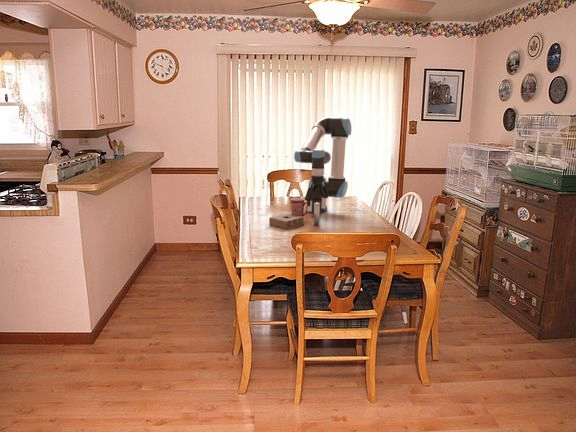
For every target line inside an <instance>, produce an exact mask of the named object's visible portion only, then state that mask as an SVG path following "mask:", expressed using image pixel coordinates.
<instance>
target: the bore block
mask: <svg viewBox="0 0 576 432" xmlns="http://www.w3.org/2000/svg"><path fill="white" fill-rule="evenodd" d="M304 218H305V216H304V217H301V216H296V215H292V213H284V214H279V215H275V216H269V218H268V219H269V221H268V222H269V224H268V225H270V226H269V227H273V226H274V227H275V228H277V229H282V230H290V229H294V228H297V227H301V226H304V224H305V219H304ZM274 227H273V228H274Z"/></svg>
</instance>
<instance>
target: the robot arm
mask: <svg viewBox="0 0 576 432" xmlns="http://www.w3.org/2000/svg"><path fill="white" fill-rule="evenodd" d="M325 135H330V138H331V139H332V151H331V153H330V152H328V151H326V150H324V149H323V148H322V149H320V148H318V149H317V146H318V144H319V143H320V141H321V139H322V138H323V137H324V136H325ZM351 135H352V123H351V120H350V119H349V117H344V116H343V117H342V116H336V117H335V116H327V117H326V116H325V117H322V118H321V119H319V120H318V121H316V122H315V123H314V124H313V125H312V127H311V131H310V134H309V136H308V137H307V139H306V141H305V143H304V144H303V146H302V148H301V149H299V150H295V152H294V155H293V156H294V157H293V158H294V161H295V162H296V163H299V164H300V163H301V164H302V163H303V164H311V178H310V179H309V181H308V186H307V187H308V188H307V190H306V194H305V197H304V199H305V200H304V201H306V202H307V203H306V206H305V211H306V212H307V211H308V212H309V213H314V203H320V213H319V214H321V213H326V212H328V206H327V199H328V198H336V199H337V198H340V199H341V198H343V199H344V197H345V196H346V194H347V191H348V188H349V187H348V186H349V185H348V184H349V183H348V182H349V181H347V180H346V177H345V176H344V174H345V173H344V172H345V171H344V170H345V160H346V159H345V155H346V141H347V140H348V139H349V136H351ZM330 161H331V167H330V176H328V177H327V178H328V179H327V178H326V177H325V176H324V175H325V164H328V163H329V162H330ZM308 212H307V213H308Z"/></svg>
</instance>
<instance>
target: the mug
mask: <svg viewBox="0 0 576 432" xmlns="http://www.w3.org/2000/svg"><path fill="white" fill-rule="evenodd" d="M305 205H307V201H306V200H305V197H304V198H303V197H293V198H290V209H291V213H290V214H292V215H296V216H301V217H304V218H305V216H306V215H307V214H308V211H306V212H305V213H304V210H305Z"/></svg>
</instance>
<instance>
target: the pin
mask: <svg viewBox="0 0 576 432" xmlns="http://www.w3.org/2000/svg"><path fill="white" fill-rule="evenodd" d="M320 214H321V213H320V203H314V212H313V226H314V227H319V226H320Z"/></svg>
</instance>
